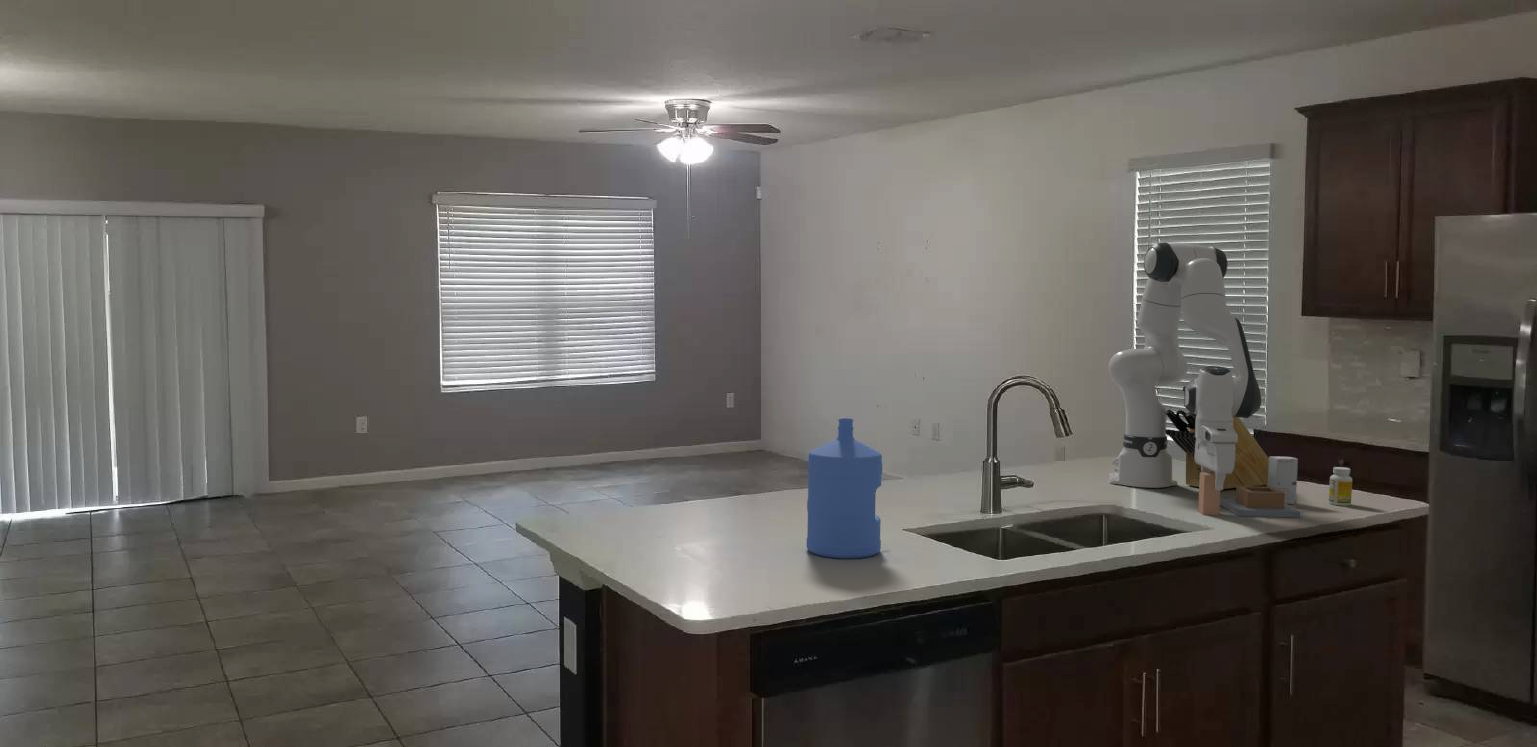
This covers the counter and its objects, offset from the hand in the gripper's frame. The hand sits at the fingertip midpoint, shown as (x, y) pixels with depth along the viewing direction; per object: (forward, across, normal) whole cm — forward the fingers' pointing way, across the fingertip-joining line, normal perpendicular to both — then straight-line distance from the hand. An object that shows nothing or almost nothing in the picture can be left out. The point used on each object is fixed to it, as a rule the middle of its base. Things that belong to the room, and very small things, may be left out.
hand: (1212, 486), depth 296 cm
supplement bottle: (+7, -18, +39) cm, 43 cm away
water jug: (+7, +52, -92) cm, 106 cm away
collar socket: (+7, -5, +13) cm, 16 cm away
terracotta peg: (+7, 0, -1) cm, 7 cm away
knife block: (+6, -41, +15) cm, 45 cm away
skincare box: (+7, -18, +24) cm, 31 cm away
